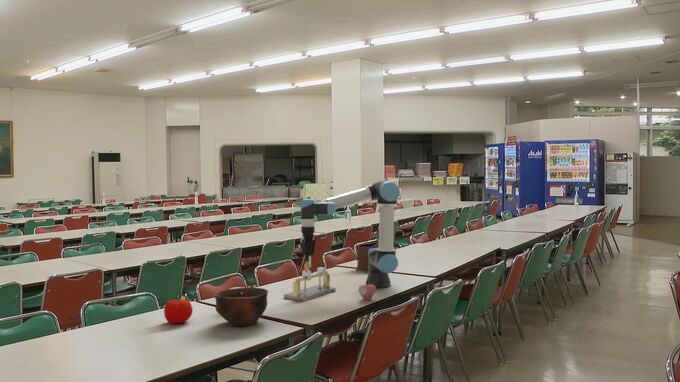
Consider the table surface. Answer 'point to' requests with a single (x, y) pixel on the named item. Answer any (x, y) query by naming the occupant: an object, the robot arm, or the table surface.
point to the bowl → (241, 305)
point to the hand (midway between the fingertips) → (308, 267)
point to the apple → (367, 291)
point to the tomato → (177, 311)
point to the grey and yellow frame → (311, 291)
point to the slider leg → (306, 273)
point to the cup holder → (363, 255)
